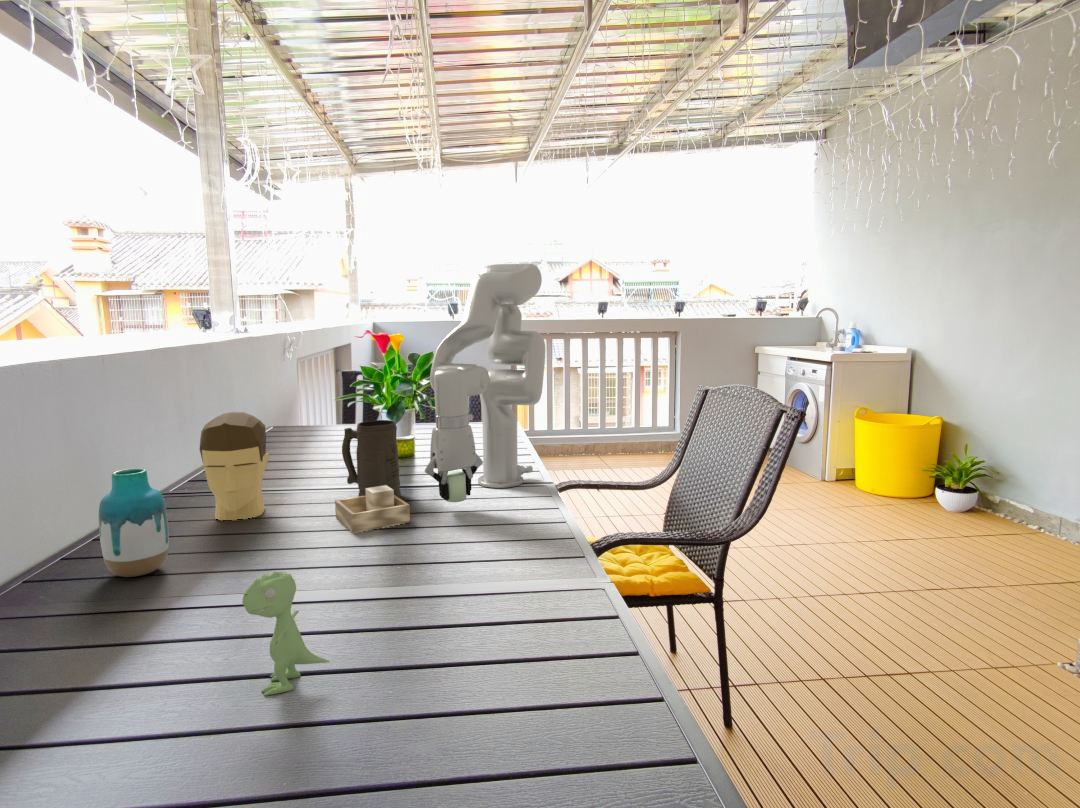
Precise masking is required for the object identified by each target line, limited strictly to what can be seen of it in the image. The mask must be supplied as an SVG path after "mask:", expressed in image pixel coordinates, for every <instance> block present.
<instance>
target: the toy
mask: <svg viewBox="0 0 1080 808" xmlns="http://www.w3.org/2000/svg"><path fill="white" fill-rule="evenodd" d="M296 584H297V583H296V580H295V579H294V578H293V575H292V574H291V573H288V572H285V571H275V572H272V573H265V574H264V575H262V576H261V577H256V578H255V580H254V581H253V583H252V584H250V585H249V586H248V588H247V589H245V591H244V593H243V596H242V605H243V606H244V608H245V611H246V612H247V613H248V614H250V615H255V616H259V617H263V618H270V619H272V618H276V620H275V627H274V630H273V635H272V637H271V639H270V641H269V654H270V658H271V660H272V661H273V662H274V666H273V667H274V668H273V670H274V672H273V673H271V675H270V676H269V677H270V678H271V679H270V681H271V682H272V681H273V682H272V683H269V684H268V685H266V686H265V687H264V688H262V689H261V692H262V693H263V696H265V697H266V696H272V695H276V694H277V695H278V694H282V693H287V692H290V691H292V690H294V689H295V687H294V685H293V684H292V683H291V682H289V681H290V679H296V678H300V677H301V673H300V671H298V670H297V669H296V666H295V665H312V664H325V663H326V664H327V663H330V661H331V660H327V659H325V658H323V657H321V656H318V655H317V654H314V653H313V652H311V651H310V650H309V649H308V648H307V645H306V644H305V641H304V640H303V637H302V634H301V633H300V630H299V627H298V625H297V623H296V620H295V617H296V616H297V615H298V613H300V610H299V609H298V610H294V611H293V613H292V612H291V611H292V606H293V602H294V598H295V594H296V591H297V585H296ZM274 681H276V682H274ZM278 681H279V682H278Z"/></svg>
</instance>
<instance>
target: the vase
mask: <svg viewBox="0 0 1080 808" xmlns="http://www.w3.org/2000/svg"><path fill="white" fill-rule="evenodd" d="M168 521H169V520H168V513H167V506H166V501H165V498H164V495H163V494H162V492H161V491H160V490H158V489H156V488H153V487H151V485H150V483H149V477H148V472H147V469H145V468H126V469H121V470H117V471H113V472H112V473H111V490H110V492H109V493H108V494H106V495H104V496H103V497H102V499H101V500H100V502H99V507H98V531H99V540H100V548H101V552H102V557H103V561H104V564H105V566H106V568H107V570H108V571H109V572H111V573H112V574H113V575H115V576H118V577H124V578H133V577H140V576H144V575H148V574H150V573H153V572H155V571H157V570H159V569H160V568H161V567H162V566H163V565H164V564H165V562H166V560H167V558H168V555H169V548H170V545H169V544H170V543H169V540H170V537H169V535H170V534H169V533H170V532H169V522H168Z"/></svg>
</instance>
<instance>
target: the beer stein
mask: <svg viewBox="0 0 1080 808" xmlns="http://www.w3.org/2000/svg"><path fill="white" fill-rule="evenodd" d="M396 423H397V422H396V421H394V420H390V419H381V420H380V419H377V420H367V421H362V422H359V423H357V426H356V430H354V429H352V427H347V428H344V437H343V441H342V447H341V454H342V455H341V456H342V458H343V462H344V465H345V467H346V469H347V471H348V472H347V473H348V476H347V478H346V483H347V484H348V485H351V484H357V487H358V489H359V490H358V495H357V497H359V496H366V491H365V488H371V487H377V486H384V485H387V486H388V487H390V488H391V489H393V490H394V495H395V496H397V497H398V498H401V495H402V492H401V489H400V486H401V480H400V465H399V450H398V443H397V433H398V432H397V431H398V428H397V424H396ZM354 439H355V440H357V441H356V442H357V446H356V451H355V452H356V468H355V466H354V461H353V458H352V455H351V454H352V453H351V442H352V440H354Z"/></svg>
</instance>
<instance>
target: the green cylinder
mask: <svg viewBox="0 0 1080 808" xmlns="http://www.w3.org/2000/svg"><path fill="white" fill-rule="evenodd" d="M446 483H447V484H448V487H449V499H448V500H445V501H446V502H449V503H460V502H463V501H465V500H467V495H466V478H465V473H464V472H462V471H448V475H447V480H446Z"/></svg>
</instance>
